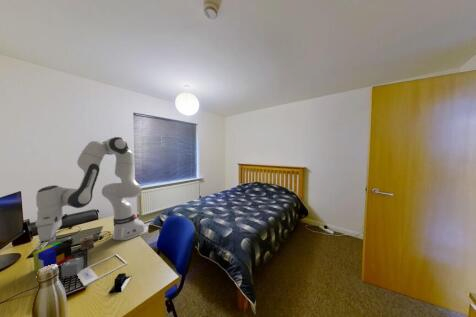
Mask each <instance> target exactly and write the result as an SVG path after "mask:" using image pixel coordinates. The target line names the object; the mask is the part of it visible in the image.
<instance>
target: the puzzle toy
mask: <svg viewBox="0 0 476 317" xmlns="http://www.w3.org/2000/svg"><path fill="white" fill-rule="evenodd" d="M32 255H33V256H32V257H33V265H34V271H35V272H39V271H38V270H39V269H41V268H43V267H45V266H48V265H51V264H57V265H60V264H62V263H64V262H67V261H68V260H69V259H73V256H72V243H71V242H70V243H68V242H60V241H57V242H53V243H52V244H49V245H47V246H45V247H42V248H40V249H39V250H36V251H34V252H32Z"/></svg>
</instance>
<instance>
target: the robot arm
mask: <svg viewBox="0 0 476 317" xmlns="http://www.w3.org/2000/svg"><path fill="white" fill-rule="evenodd" d="M106 155H110V156H111V155H115V165H114V166H115V167H114V174H115V176H116V177H118V178H119V179H120V181H121V182H112V183H107V184H105V185H104V186H103V187H102V189H101V195H102V197H103V198H106V199H107V200H108V201H109V202H110V204H111V206H112V209H113V222H112V223H113V234H112V236H111V237H112V239H113V240H115V241H122V242H123V241H126V240H130V239H133V238H136V237H139V236H141V235H145V234H147V233H148V232H149V227H148V226H147V225H145V222H144V221H143V220H140V219H139V218H137V215H136V214H135V213H133V205H132V203H131V202H129V201H128V200H126V199H130V198H131V199H133V198H136V197H139V196H140V195H141V194H142V193H141V192H142V189H143V188H142V185H141V184H140V183H138V182H137V181H136V179H135V176H134V153H133V152H132V151H131V150H129V146H128V143H127V141H126V139H124V138H123V137H120V136H115V137H111V138H108V139H107V140H104V141H102V142H101V141H98V140H92V141H90V142H89V143H88V144H86V145H85V147H84V148H83V149H82V151H81V153H80V155H79V156H78V159H77V162H76V163H77V166H78V167H79V168H80V169H81V170H82V171H83V177H82V179H81V182H80V185H79V187H78V188H68V187H63V186H59V185H48V186H45V187H42V188H40V189H38V190H37V192H36V198H35V200H36V203H35V204H36V207H37V208H38V209H37V212H36V213H37V214H36V215H37V219H36V221H35V227H37V236H38V239H39V241H40V242H45V241H48V242H49V243H55V241H56V240H57V231H59V229H60V228H61V227H62V225H63V222H62V218H64V217H63V216H64V215H63V207H65V206H67V207H72V208H76V209H81V208H84V207H86V206H88V205H89V204H90V203H91V201H92V199H93V192H94V188H95V185H96V183H97V179H98V178H99V177H98V176H99V174H100V165H101V163H102V161H103V159H104V157H105V156H106ZM138 235H139V236H138Z"/></svg>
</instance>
